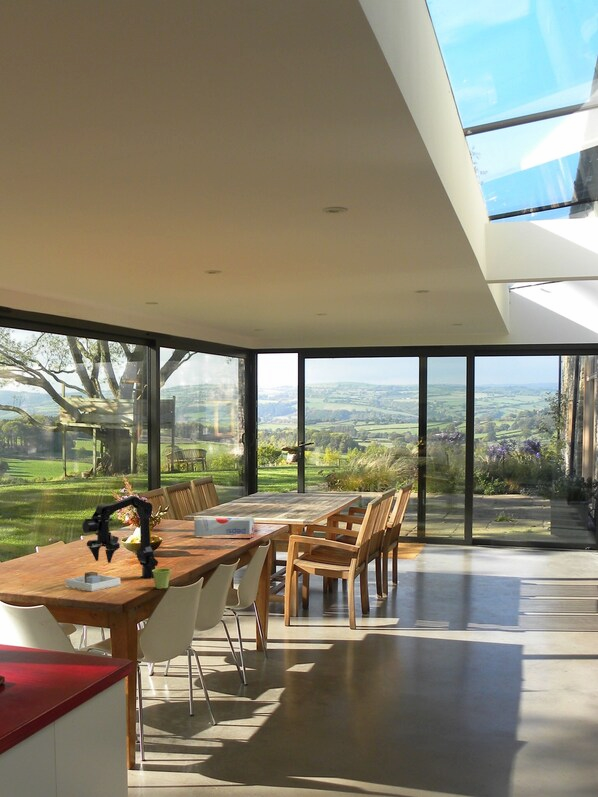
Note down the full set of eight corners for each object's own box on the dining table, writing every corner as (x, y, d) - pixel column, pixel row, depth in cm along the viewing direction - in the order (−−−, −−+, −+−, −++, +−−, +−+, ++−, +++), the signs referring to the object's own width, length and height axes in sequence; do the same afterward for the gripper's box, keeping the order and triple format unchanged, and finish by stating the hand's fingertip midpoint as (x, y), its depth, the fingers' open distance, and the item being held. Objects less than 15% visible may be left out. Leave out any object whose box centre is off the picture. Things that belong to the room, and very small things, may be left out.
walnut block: (97, 582, 394) (97, 572, 394) (90, 584, 390) (90, 574, 390) (91, 581, 396) (91, 571, 396) (84, 582, 393) (84, 572, 393)
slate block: (99, 586, 383) (99, 576, 384) (92, 588, 380) (92, 578, 380) (94, 585, 386) (94, 575, 386) (86, 587, 383) (86, 577, 383)
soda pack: (254, 537, 548) (254, 517, 549) (250, 540, 536) (250, 519, 536) (199, 535, 556) (199, 516, 556) (193, 538, 543) (193, 518, 544)
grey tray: (120, 585, 391) (120, 578, 391) (91, 591, 376) (91, 584, 376) (94, 580, 402) (94, 573, 402) (65, 586, 388) (65, 579, 388)
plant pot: (148, 589, 382) (148, 571, 382) (158, 585, 391) (158, 567, 391) (164, 590, 379) (164, 572, 379) (174, 586, 387) (174, 569, 388)
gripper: (128, 530, 391) (128, 561, 391) (103, 527, 402) (103, 557, 402) (110, 532, 382) (110, 564, 382) (86, 529, 393) (86, 560, 393)
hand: (103, 561), depth 390 cm, fingers open, 9 cm apart
